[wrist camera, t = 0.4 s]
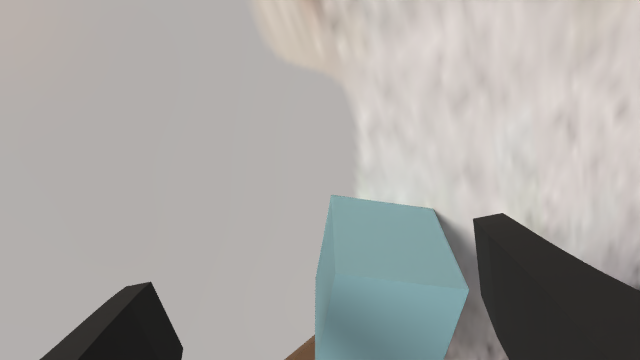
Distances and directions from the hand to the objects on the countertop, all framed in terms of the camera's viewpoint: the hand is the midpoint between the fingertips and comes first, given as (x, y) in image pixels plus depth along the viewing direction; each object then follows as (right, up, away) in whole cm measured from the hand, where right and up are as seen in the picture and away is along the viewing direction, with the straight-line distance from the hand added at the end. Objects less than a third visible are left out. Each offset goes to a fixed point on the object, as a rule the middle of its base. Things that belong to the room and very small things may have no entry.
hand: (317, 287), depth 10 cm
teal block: (+2, -1, +11) cm, 11 cm away
